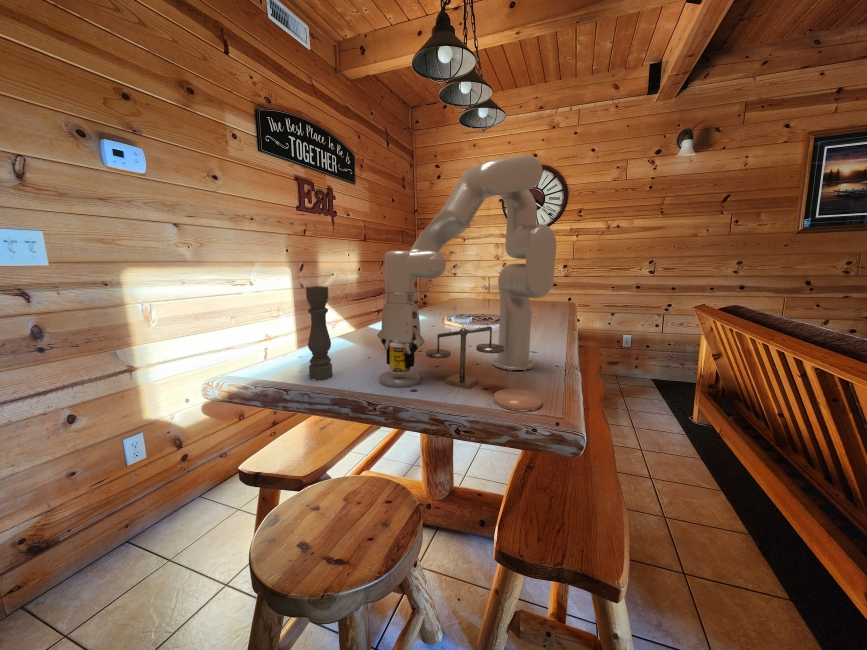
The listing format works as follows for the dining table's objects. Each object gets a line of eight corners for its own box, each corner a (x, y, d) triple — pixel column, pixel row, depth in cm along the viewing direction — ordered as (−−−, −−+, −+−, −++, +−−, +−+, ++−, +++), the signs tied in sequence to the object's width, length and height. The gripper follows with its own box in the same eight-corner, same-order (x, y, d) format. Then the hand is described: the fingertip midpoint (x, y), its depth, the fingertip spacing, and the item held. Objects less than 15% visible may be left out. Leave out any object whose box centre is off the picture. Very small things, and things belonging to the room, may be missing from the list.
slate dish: (396, 372, 108) (396, 368, 107) (427, 379, 102) (427, 374, 102) (370, 382, 99) (370, 378, 98) (403, 390, 93) (403, 386, 92)
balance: (434, 372, 108) (434, 317, 105) (506, 387, 96) (509, 325, 93) (420, 378, 102) (420, 320, 99) (495, 396, 90) (498, 330, 87)
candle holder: (306, 380, 100) (301, 288, 95) (313, 373, 106) (308, 286, 101) (329, 380, 100) (325, 288, 95) (334, 373, 106) (331, 286, 101)
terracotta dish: (504, 390, 94) (504, 385, 94) (547, 399, 88) (548, 394, 88) (486, 404, 85) (486, 399, 85) (532, 415, 79) (533, 410, 79)
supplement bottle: (391, 375, 96) (391, 337, 94) (388, 369, 102) (387, 333, 100) (412, 374, 98) (412, 336, 96) (408, 368, 103) (407, 332, 101)
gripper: (434, 299, 95) (434, 367, 98) (384, 295, 104) (385, 357, 107) (418, 302, 88) (418, 374, 92) (365, 297, 98) (367, 363, 101)
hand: (400, 364), depth 99 cm, fingers closed on supplement bottle, 5 cm apart
